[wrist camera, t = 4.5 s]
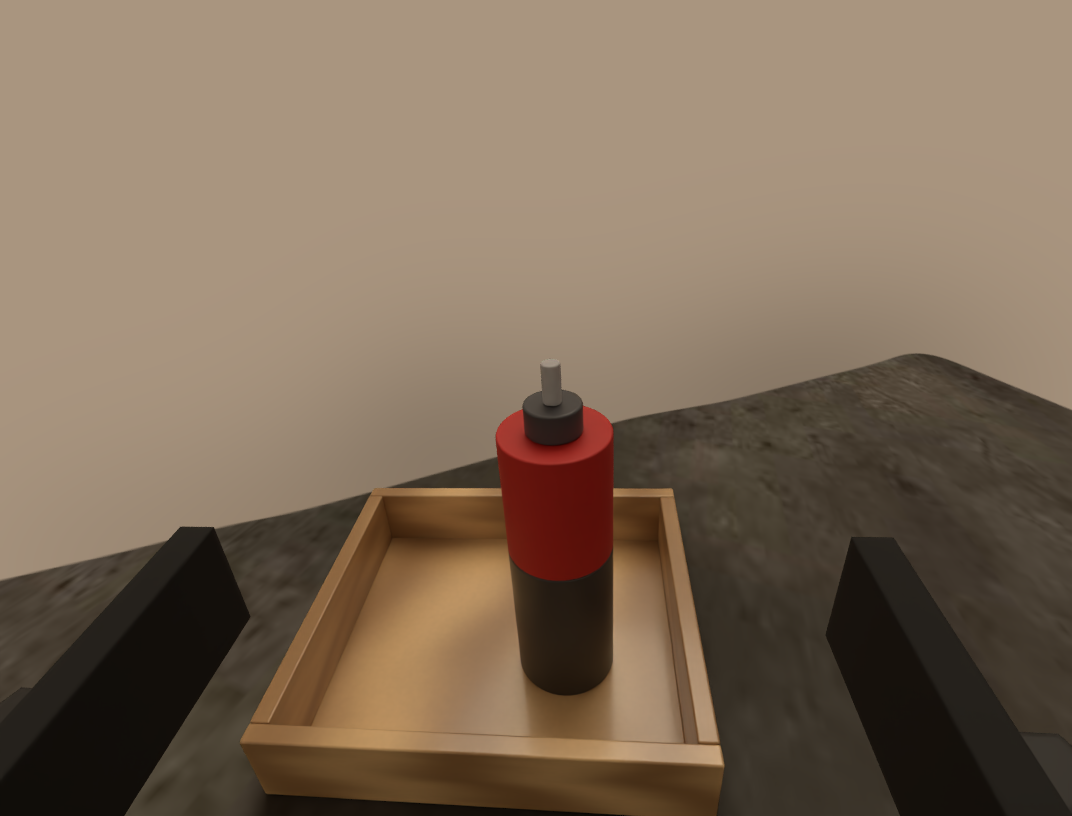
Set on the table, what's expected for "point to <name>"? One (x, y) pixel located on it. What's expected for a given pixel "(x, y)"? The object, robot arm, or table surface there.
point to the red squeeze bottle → (559, 535)
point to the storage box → (488, 673)
